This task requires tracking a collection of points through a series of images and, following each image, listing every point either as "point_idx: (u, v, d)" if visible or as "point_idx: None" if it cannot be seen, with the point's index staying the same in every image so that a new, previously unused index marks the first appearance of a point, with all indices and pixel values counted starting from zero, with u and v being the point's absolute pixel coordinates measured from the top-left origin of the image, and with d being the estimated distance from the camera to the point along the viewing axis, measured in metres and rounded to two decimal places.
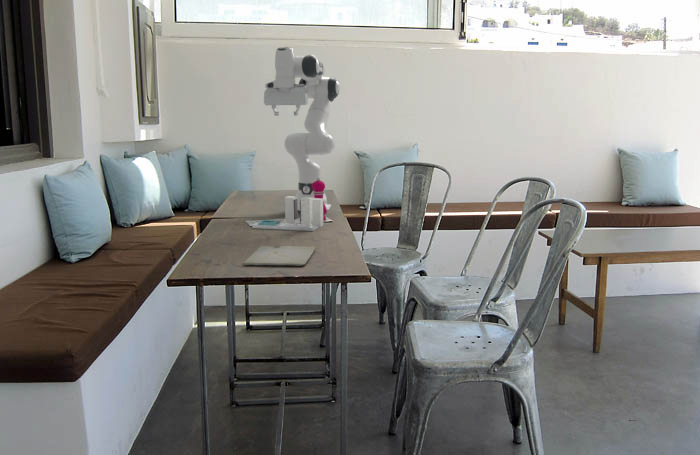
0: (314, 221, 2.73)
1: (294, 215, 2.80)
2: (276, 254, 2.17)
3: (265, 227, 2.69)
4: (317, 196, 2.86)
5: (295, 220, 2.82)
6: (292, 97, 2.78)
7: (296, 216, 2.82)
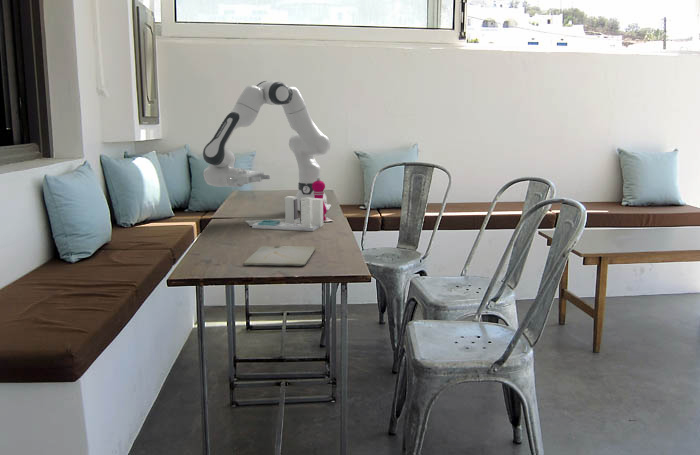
0: (314, 221, 2.73)
1: (294, 215, 2.80)
2: (276, 254, 2.17)
3: (265, 227, 2.69)
4: (317, 196, 2.86)
5: (295, 220, 2.82)
6: None
7: (296, 216, 2.82)
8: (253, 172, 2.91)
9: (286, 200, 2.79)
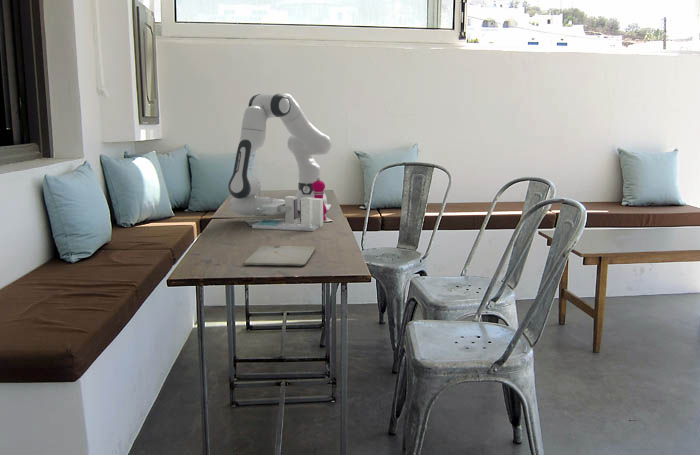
0: (314, 221, 2.73)
1: (294, 215, 2.80)
2: (276, 254, 2.16)
3: (265, 227, 2.69)
4: (317, 196, 2.86)
5: (295, 220, 2.82)
6: None
7: (296, 216, 2.82)
8: (280, 201, 2.90)
9: (286, 200, 2.79)
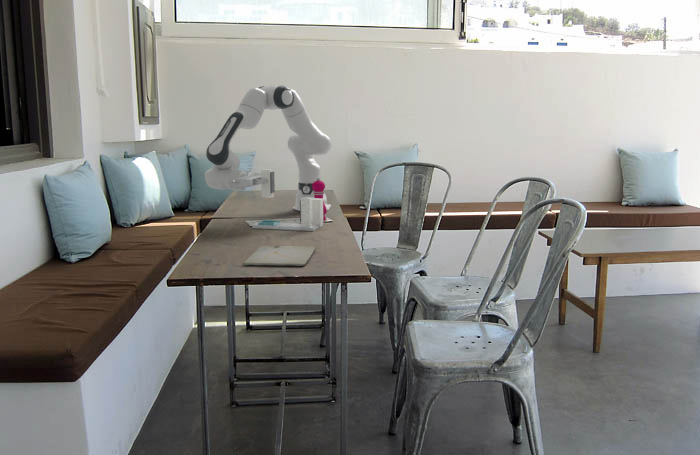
0: (314, 221, 2.73)
1: (271, 188, 2.68)
2: (276, 254, 2.16)
3: (265, 227, 2.69)
4: (317, 196, 2.86)
5: (272, 194, 2.70)
6: None
7: (273, 190, 2.70)
8: (257, 174, 2.78)
9: (262, 173, 2.67)
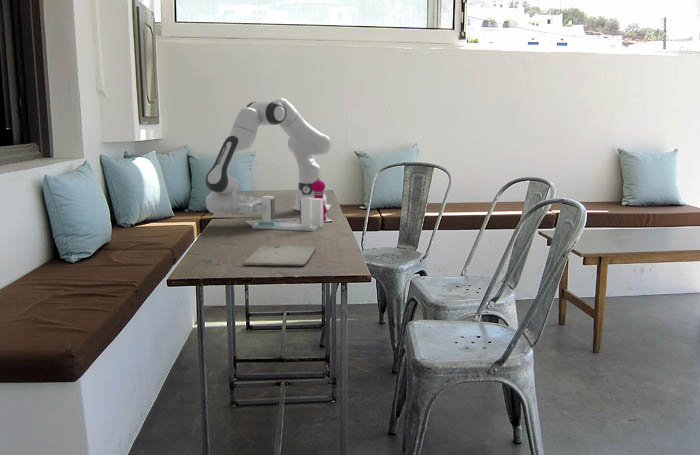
0: (314, 221, 2.73)
1: (271, 215, 2.70)
2: (276, 254, 2.16)
3: (265, 227, 2.69)
4: (317, 196, 2.86)
5: (272, 221, 2.72)
6: None
7: (273, 216, 2.72)
8: (257, 199, 2.80)
9: (263, 200, 2.69)
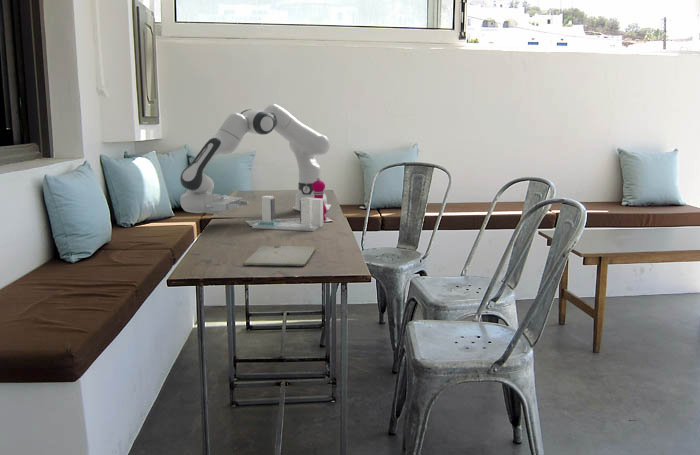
0: (314, 221, 2.73)
1: (271, 215, 2.70)
2: (276, 254, 2.16)
3: (265, 227, 2.69)
4: (317, 196, 2.86)
5: (272, 221, 2.72)
6: None
7: (273, 216, 2.72)
8: (231, 198, 2.83)
9: (263, 200, 2.69)
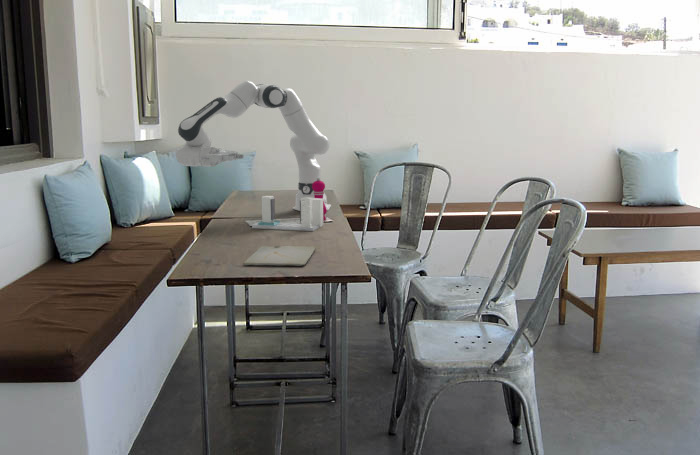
0: (314, 221, 2.73)
1: (271, 215, 2.70)
2: (276, 254, 2.16)
3: (265, 227, 2.69)
4: (317, 196, 2.86)
5: (272, 221, 2.72)
6: None
7: (273, 216, 2.72)
8: (227, 152, 2.84)
9: (263, 200, 2.69)
